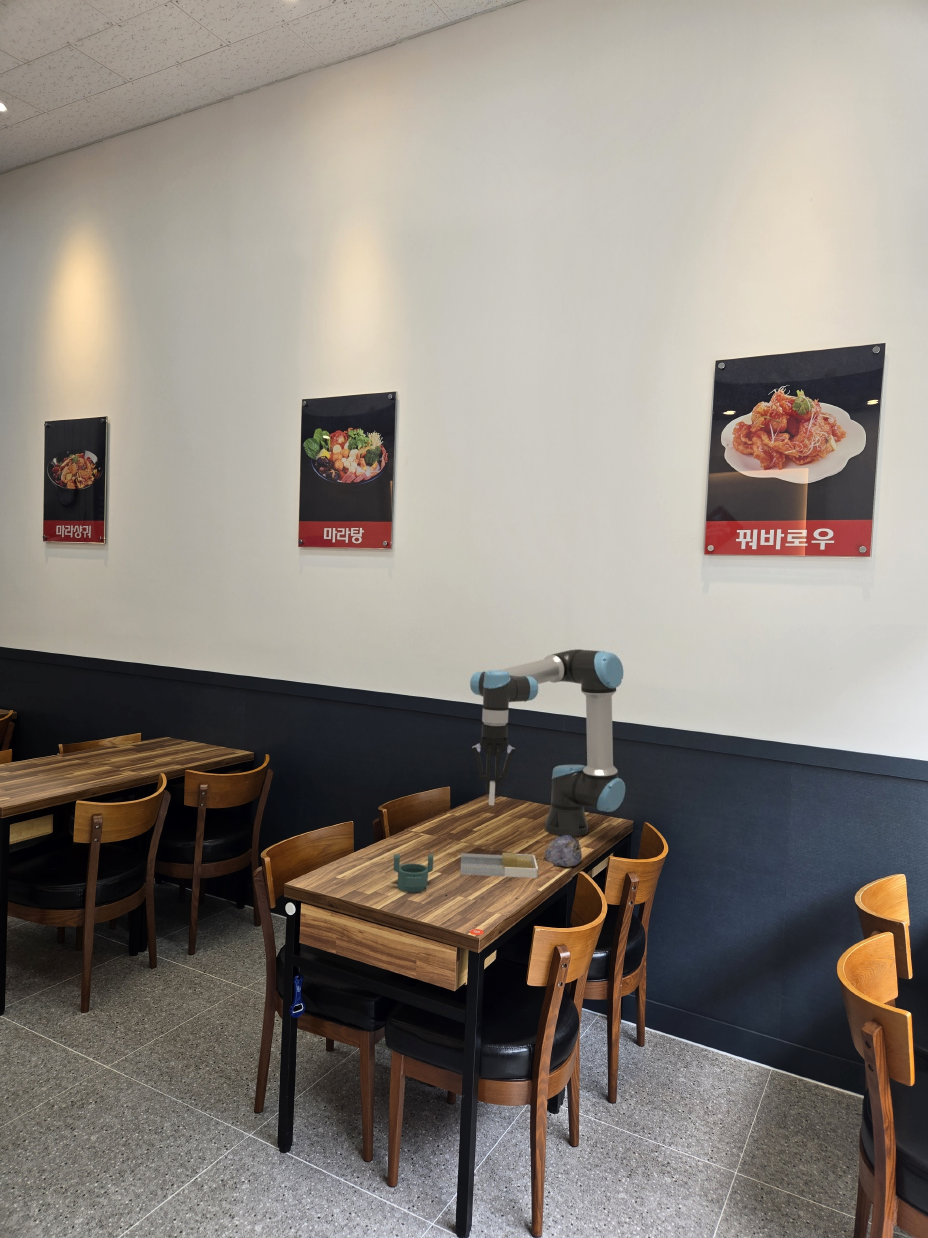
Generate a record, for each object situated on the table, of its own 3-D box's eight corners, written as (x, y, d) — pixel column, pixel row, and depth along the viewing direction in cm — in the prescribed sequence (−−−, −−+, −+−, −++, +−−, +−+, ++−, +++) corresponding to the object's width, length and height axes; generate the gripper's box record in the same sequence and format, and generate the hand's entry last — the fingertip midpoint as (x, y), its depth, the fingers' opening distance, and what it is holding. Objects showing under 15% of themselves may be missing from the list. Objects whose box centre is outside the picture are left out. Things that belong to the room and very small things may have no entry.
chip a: (528, 870, 230) (529, 856, 230) (530, 874, 226) (530, 861, 226) (515, 869, 230) (516, 855, 230) (516, 874, 226) (516, 860, 226)
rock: (585, 852, 243) (576, 827, 239) (579, 876, 235) (570, 851, 231) (553, 853, 248) (544, 828, 244) (545, 877, 239) (536, 852, 235)
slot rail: (502, 865, 235) (502, 855, 235) (504, 880, 222) (504, 869, 222) (460, 863, 235) (461, 853, 235) (460, 877, 222) (460, 867, 222)
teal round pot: (389, 887, 212) (391, 854, 212) (414, 879, 219) (415, 847, 219) (412, 896, 206) (413, 862, 206) (436, 888, 213) (438, 855, 212)
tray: (533, 866, 235) (534, 855, 235) (537, 881, 222) (538, 869, 222) (502, 865, 235) (502, 853, 235) (504, 880, 222) (504, 867, 222)
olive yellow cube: (515, 866, 230) (516, 853, 230) (516, 871, 226) (516, 857, 226) (501, 866, 230) (502, 852, 230) (502, 870, 226) (503, 857, 226)
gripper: (516, 722, 231) (512, 801, 232) (472, 720, 231) (469, 800, 232) (518, 726, 224) (514, 808, 224) (472, 724, 224) (469, 806, 224)
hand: (491, 804), depth 228 cm, fingers closed
